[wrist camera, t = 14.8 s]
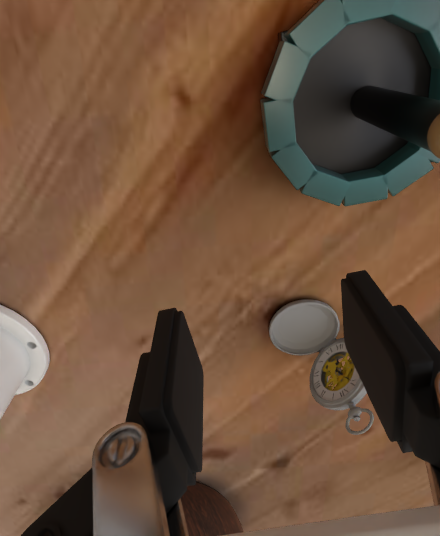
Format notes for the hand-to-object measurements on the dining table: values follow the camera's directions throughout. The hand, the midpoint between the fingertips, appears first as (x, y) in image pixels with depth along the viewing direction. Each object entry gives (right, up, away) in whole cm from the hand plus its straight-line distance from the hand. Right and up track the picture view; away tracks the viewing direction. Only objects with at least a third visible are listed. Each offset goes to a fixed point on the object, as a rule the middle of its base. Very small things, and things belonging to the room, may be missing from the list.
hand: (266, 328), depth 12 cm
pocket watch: (+7, -4, +23) cm, 25 cm away
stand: (+8, +13, +13) cm, 20 cm away
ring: (+8, +13, +12) cm, 19 cm away
